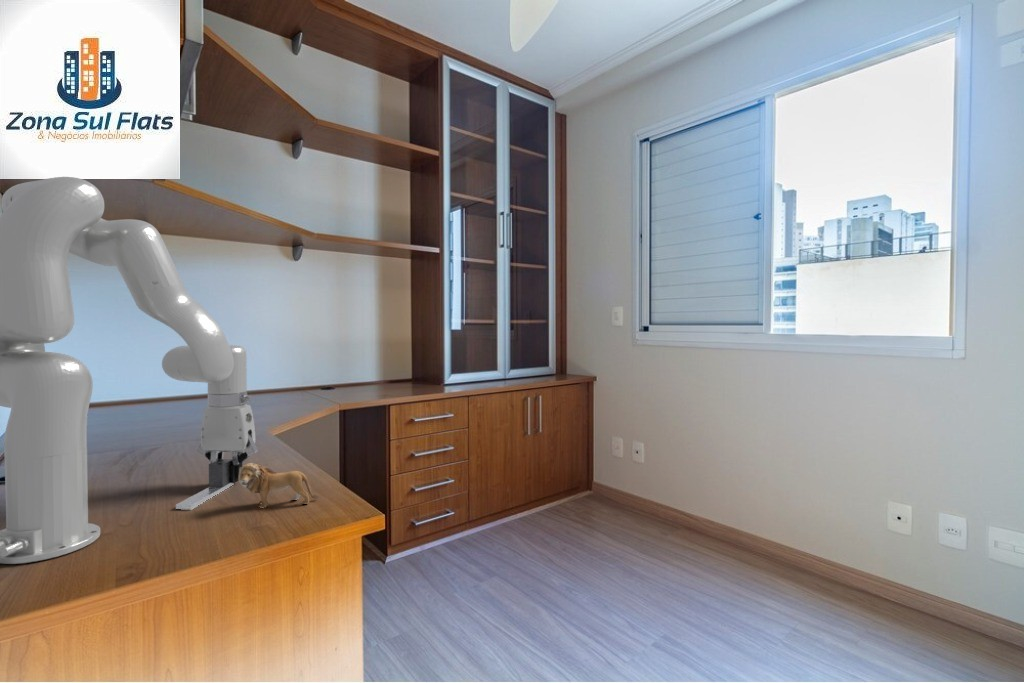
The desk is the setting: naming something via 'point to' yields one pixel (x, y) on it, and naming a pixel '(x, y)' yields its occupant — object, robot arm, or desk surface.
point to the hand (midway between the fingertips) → (227, 480)
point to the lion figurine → (273, 482)
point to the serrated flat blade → (211, 484)
